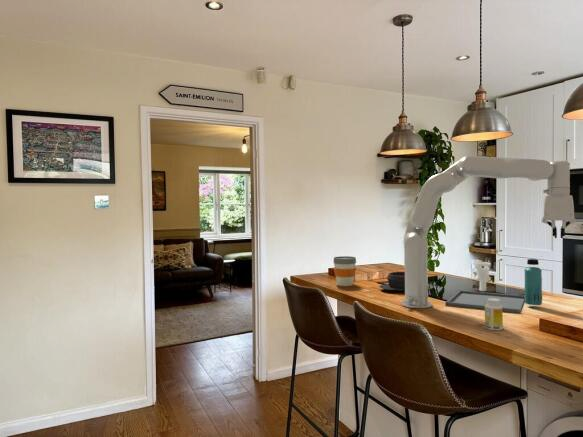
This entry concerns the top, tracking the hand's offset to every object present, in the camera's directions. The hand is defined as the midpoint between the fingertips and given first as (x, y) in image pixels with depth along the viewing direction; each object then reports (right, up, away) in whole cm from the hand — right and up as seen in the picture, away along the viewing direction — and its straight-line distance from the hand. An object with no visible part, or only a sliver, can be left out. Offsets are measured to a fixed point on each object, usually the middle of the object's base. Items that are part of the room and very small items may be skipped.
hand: (558, 237), depth 167 cm
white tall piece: (-12, -28, +40) cm, 51 cm away
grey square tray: (-22, -29, +16) cm, 40 cm away
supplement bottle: (-37, -31, -22) cm, 53 cm away
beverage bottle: (-7, -29, +6) cm, 31 cm away
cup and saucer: (-50, -29, +46) cm, 74 cm away
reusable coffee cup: (-78, -29, +64) cm, 105 cm away
